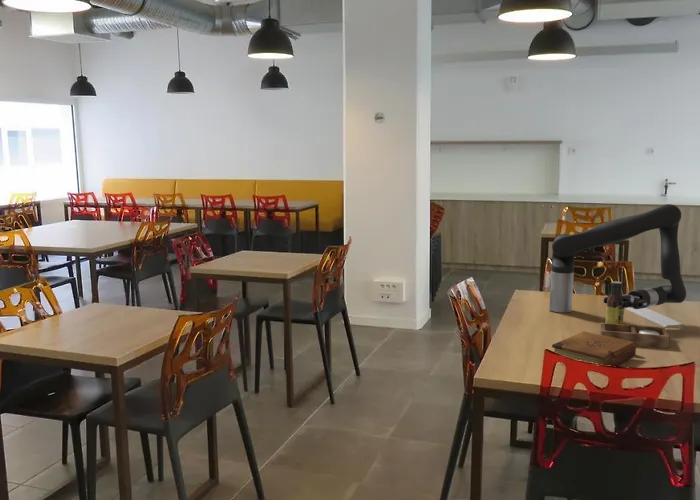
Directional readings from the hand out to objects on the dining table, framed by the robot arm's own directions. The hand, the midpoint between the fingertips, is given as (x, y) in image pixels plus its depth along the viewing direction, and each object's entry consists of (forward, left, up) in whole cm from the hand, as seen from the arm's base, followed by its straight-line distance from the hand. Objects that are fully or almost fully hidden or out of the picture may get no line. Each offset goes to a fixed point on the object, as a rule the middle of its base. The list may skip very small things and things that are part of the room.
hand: (613, 302), depth 249 cm
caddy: (+7, -10, -12) cm, 17 cm away
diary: (-7, -33, -13) cm, 36 cm away
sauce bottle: (+1, +1, -12) cm, 12 cm away
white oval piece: (+12, -10, -11) cm, 19 cm away
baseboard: (+17, +31, -13) cm, 37 cm away
